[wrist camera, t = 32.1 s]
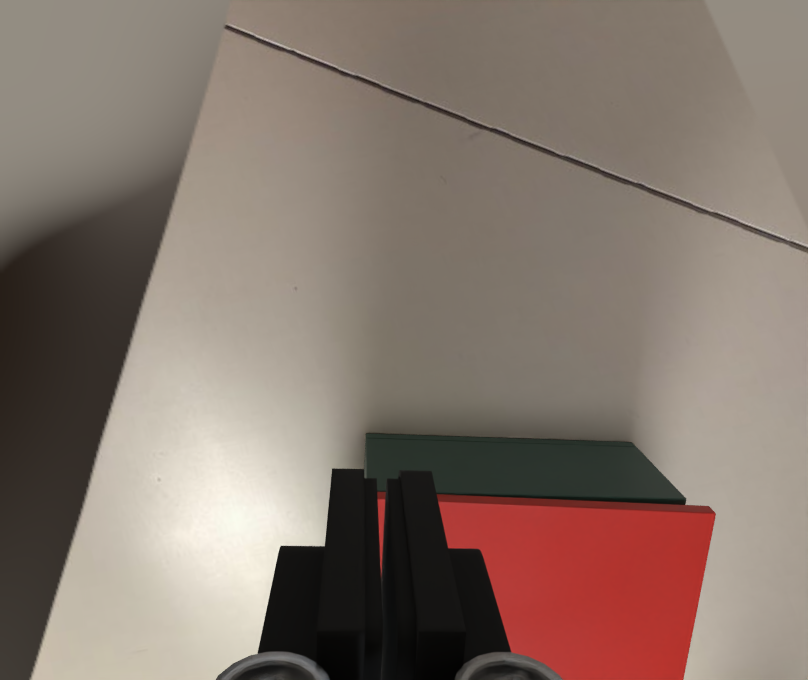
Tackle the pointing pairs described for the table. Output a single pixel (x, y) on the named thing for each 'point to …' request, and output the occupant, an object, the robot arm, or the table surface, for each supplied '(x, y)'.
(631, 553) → the lid
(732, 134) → the table surface
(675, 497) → the box
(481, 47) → the table surface
